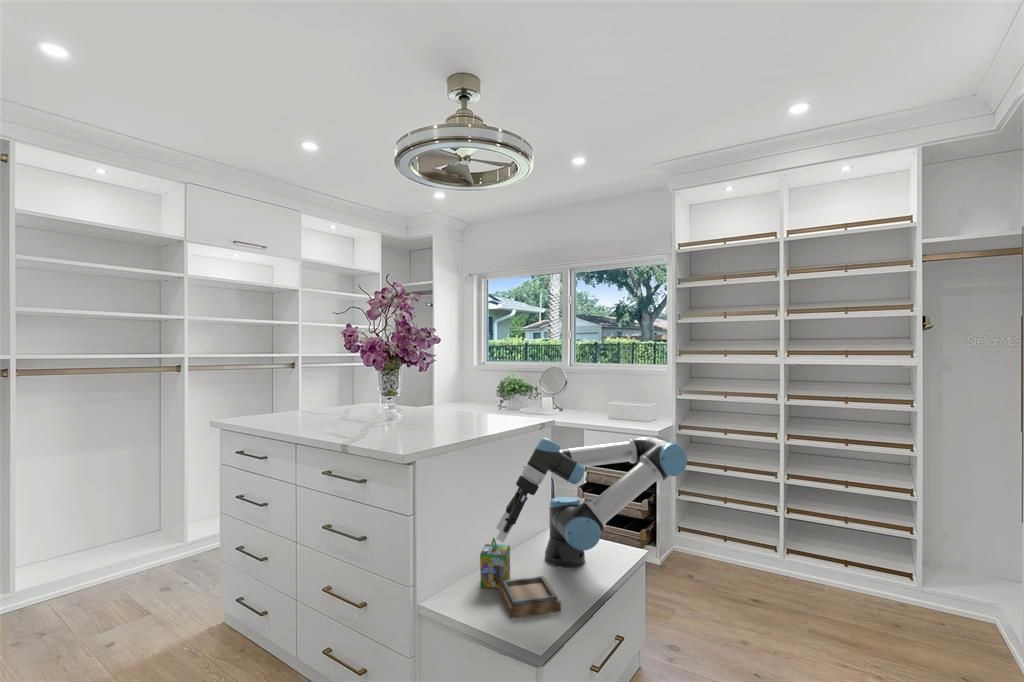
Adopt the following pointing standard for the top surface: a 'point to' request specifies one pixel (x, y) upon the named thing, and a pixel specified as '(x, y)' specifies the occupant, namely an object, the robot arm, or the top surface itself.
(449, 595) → the top surface
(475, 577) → the top surface
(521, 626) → the top surface
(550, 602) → the wooden tray
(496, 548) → the chalk box
